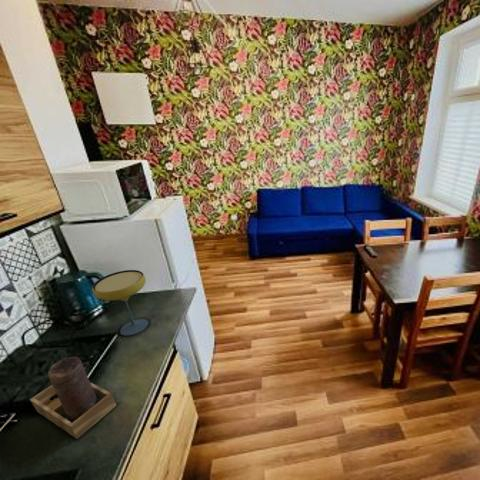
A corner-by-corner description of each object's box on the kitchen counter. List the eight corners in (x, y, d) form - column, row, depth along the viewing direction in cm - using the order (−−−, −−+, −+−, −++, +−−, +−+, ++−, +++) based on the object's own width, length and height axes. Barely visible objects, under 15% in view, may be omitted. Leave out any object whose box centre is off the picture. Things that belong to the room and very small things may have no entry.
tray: (36, 411, 85) (29, 399, 83) (77, 383, 94) (71, 371, 92) (77, 439, 78) (70, 426, 75) (116, 405, 87) (111, 393, 85)
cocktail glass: (101, 344, 111) (80, 294, 102) (122, 316, 128) (106, 271, 118) (148, 338, 115) (132, 289, 105) (163, 312, 131) (150, 268, 121)
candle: (102, 397, 89) (81, 352, 81) (99, 416, 83) (77, 369, 75) (72, 409, 85) (47, 363, 77) (67, 430, 79) (40, 382, 71)
